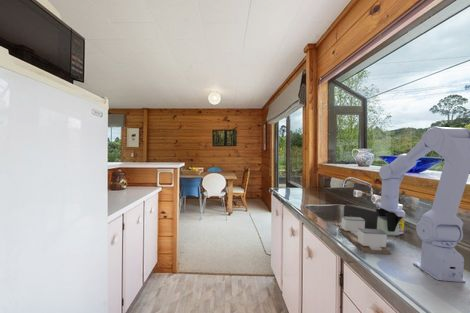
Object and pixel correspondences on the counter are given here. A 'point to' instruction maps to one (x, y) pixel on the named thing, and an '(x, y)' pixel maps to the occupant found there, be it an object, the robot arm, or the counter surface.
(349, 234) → the rail board
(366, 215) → the leaning round-cornered charcoal block
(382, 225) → the block
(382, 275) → the counter surface
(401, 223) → the supplement bottle
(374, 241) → the mounted modules
